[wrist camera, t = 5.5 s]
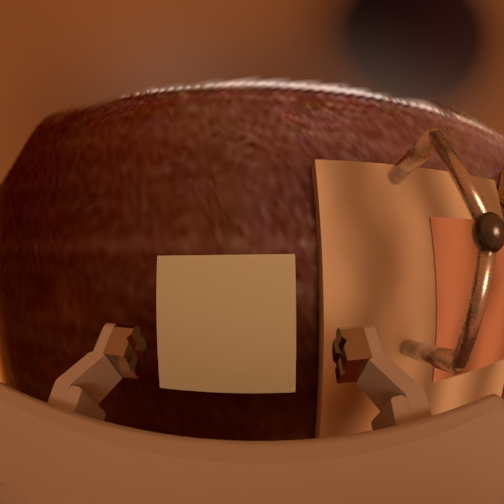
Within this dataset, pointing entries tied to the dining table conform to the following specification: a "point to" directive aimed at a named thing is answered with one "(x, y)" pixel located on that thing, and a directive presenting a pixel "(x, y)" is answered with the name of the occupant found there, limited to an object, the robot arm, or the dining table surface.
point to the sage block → (227, 323)
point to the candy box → (501, 188)
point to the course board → (400, 283)
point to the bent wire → (483, 235)
